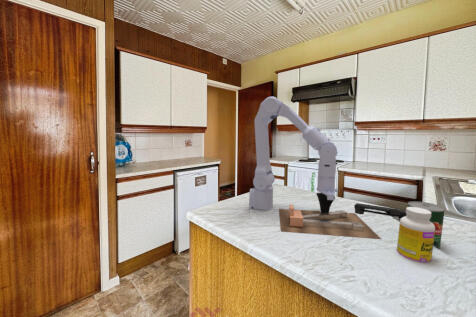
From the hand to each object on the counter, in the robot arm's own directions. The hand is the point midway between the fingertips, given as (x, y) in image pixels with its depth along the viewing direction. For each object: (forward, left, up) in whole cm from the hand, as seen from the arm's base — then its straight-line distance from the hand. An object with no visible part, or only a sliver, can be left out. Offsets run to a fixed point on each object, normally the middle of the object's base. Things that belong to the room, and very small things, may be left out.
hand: (324, 213), depth 78 cm
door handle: (+22, +5, -3) cm, 23 cm away
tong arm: (-1, -3, -1) cm, 3 cm away
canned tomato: (+24, -12, -2) cm, 27 cm away
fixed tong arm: (-2, -9, -1) cm, 10 cm away
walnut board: (-2, -5, -2) cm, 6 cm away
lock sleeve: (-11, -8, 0) cm, 14 cm away
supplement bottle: (+16, -22, -2) cm, 28 cm away
